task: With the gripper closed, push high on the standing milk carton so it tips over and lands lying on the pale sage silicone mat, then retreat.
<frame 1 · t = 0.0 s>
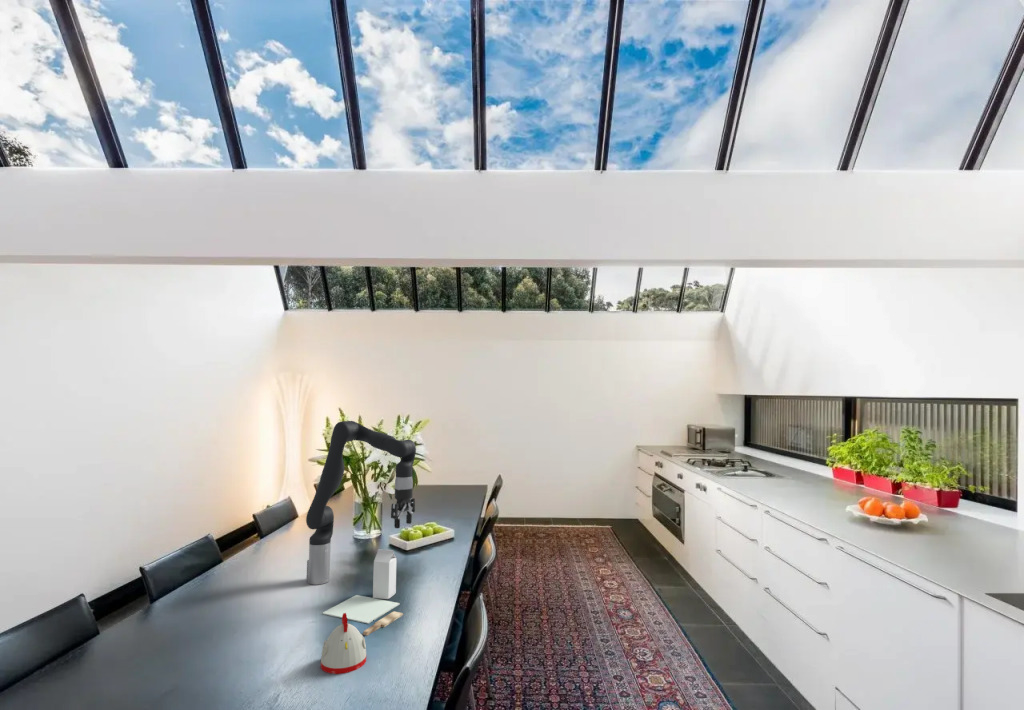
hand: (403, 525, 226), 29 cm above the table, fingers open, 8 cm apart
mat: (361, 608, 211), on the table
beech turner: (384, 623, 199), on the table
kitchen timer: (343, 663, 170), on the table
milk carton: (384, 596, 225), on the table
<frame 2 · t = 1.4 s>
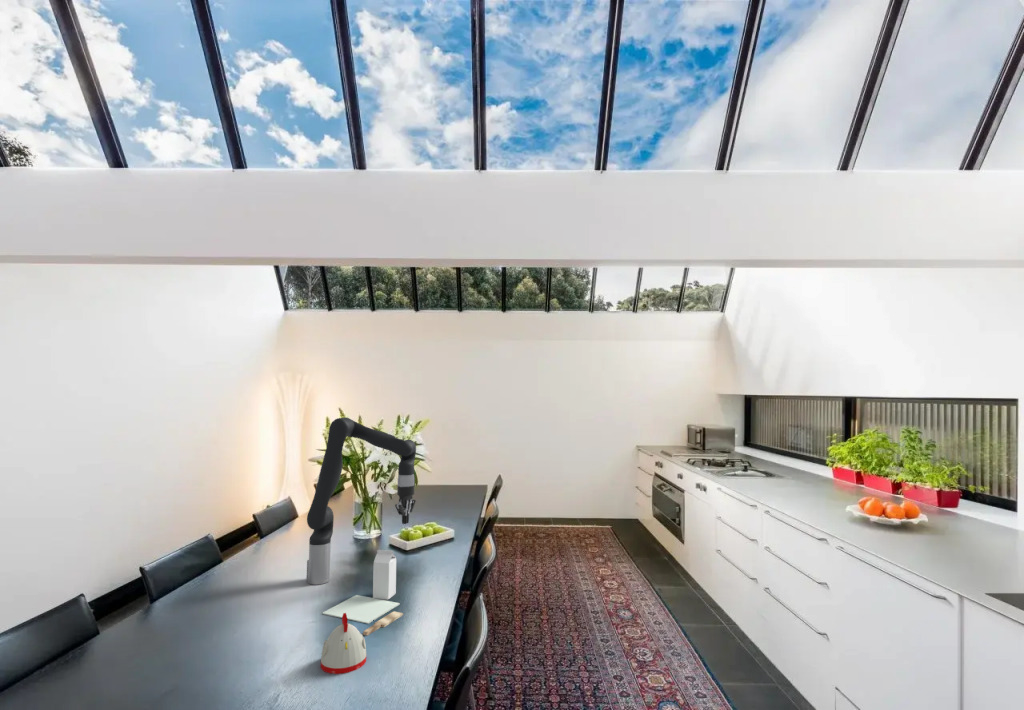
hand: (405, 523, 240), 27 cm above the table, fingers closed
nothing on the table moved.
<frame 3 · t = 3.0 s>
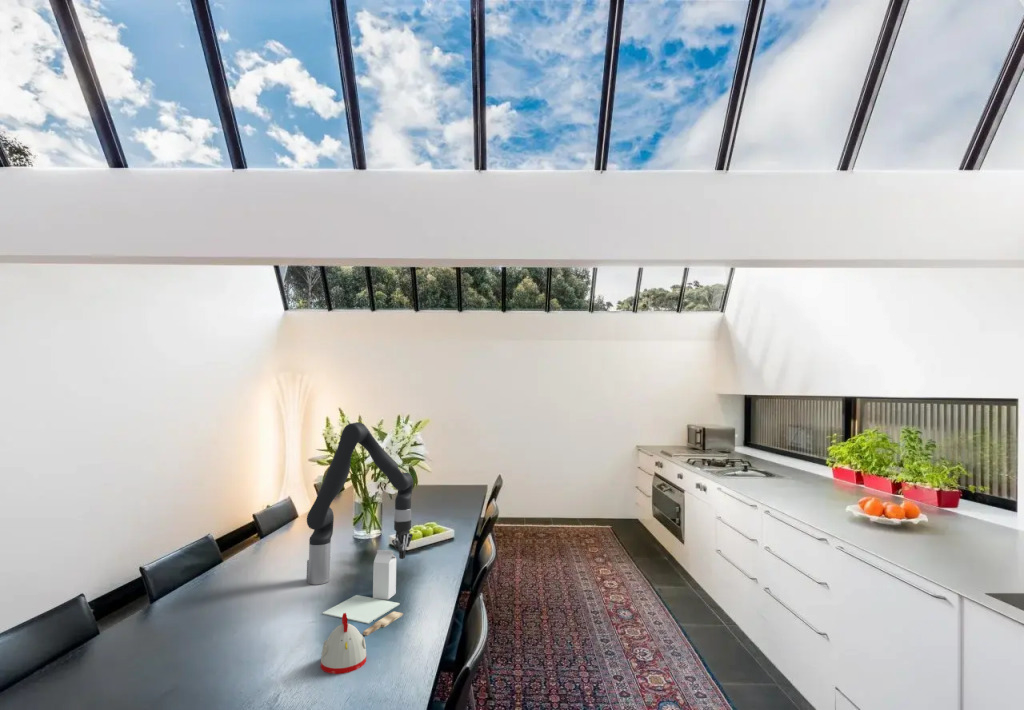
hand: (402, 558, 237), 12 cm above the table, fingers closed
nothing on the table moved.
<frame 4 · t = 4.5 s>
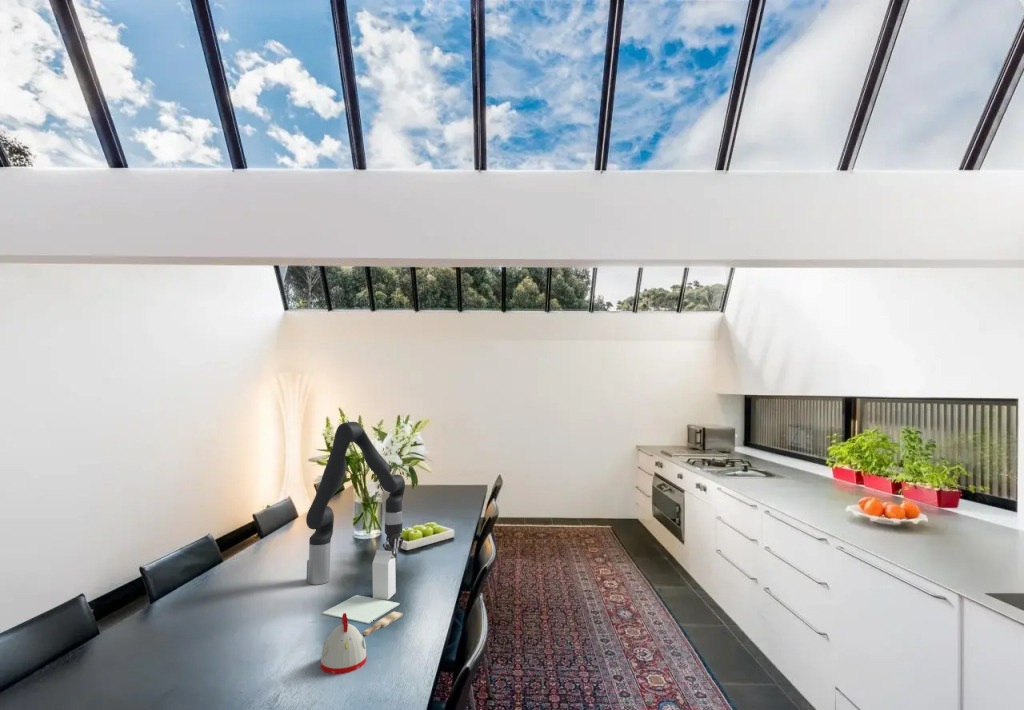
hand: (393, 562, 231), 12 cm above the table, fingers closed
milk carton: (384, 596, 225), on the table, touching hand
everything else where it was.
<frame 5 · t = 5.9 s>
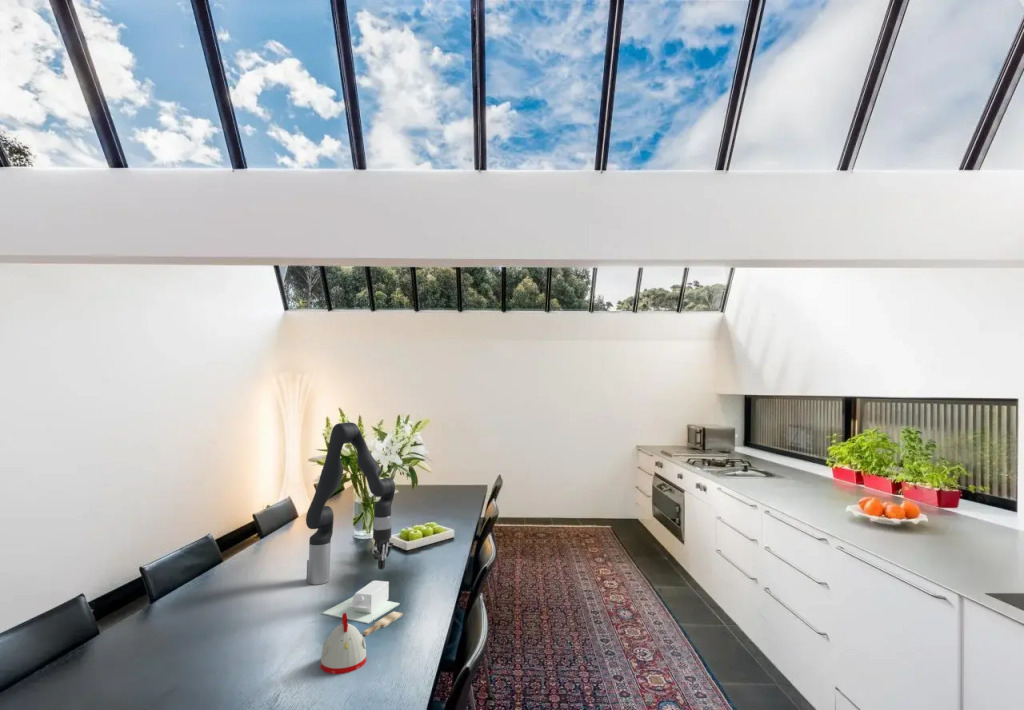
hand: (381, 568, 223), 12 cm above the table, fingers closed
milk carton: (381, 589, 222), point 4 cm above the table, touching mat
everything else where it was.
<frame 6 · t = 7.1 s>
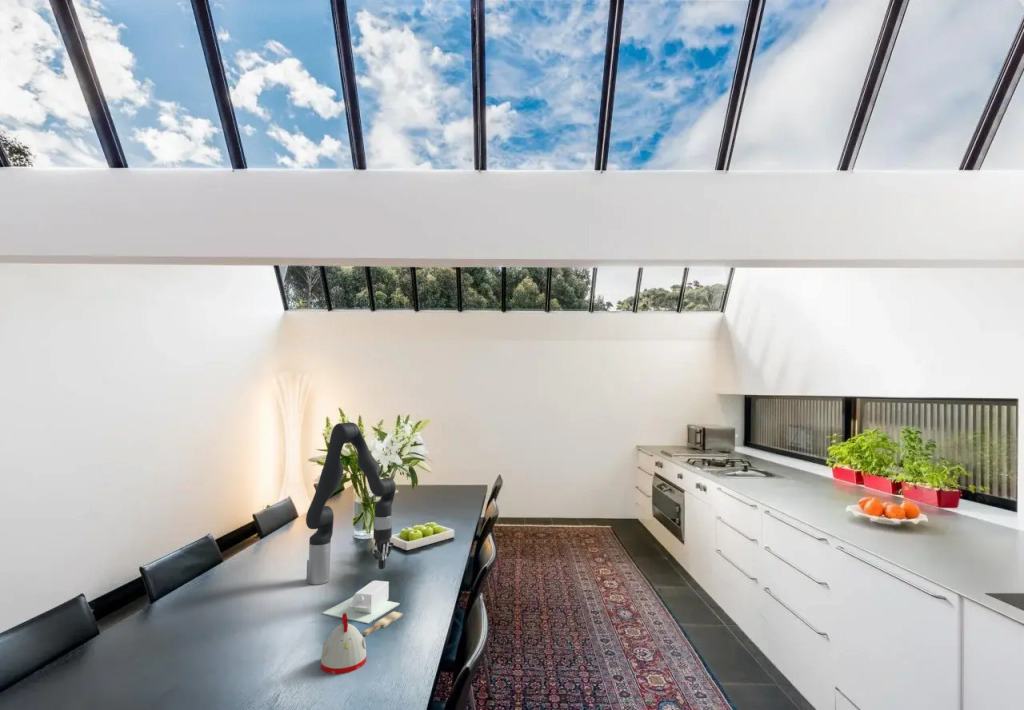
hand: (381, 568, 224), 12 cm above the table, fingers closed
nothing on the table moved.
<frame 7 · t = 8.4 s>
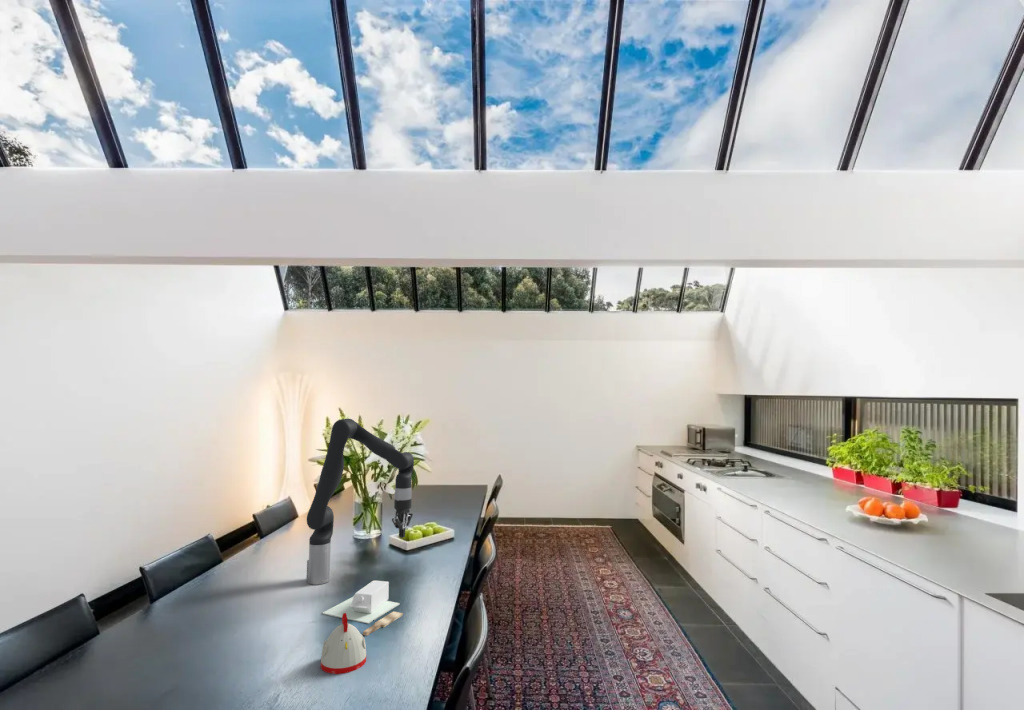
hand: (401, 537, 237), 22 cm above the table, fingers closed
nothing on the table moved.
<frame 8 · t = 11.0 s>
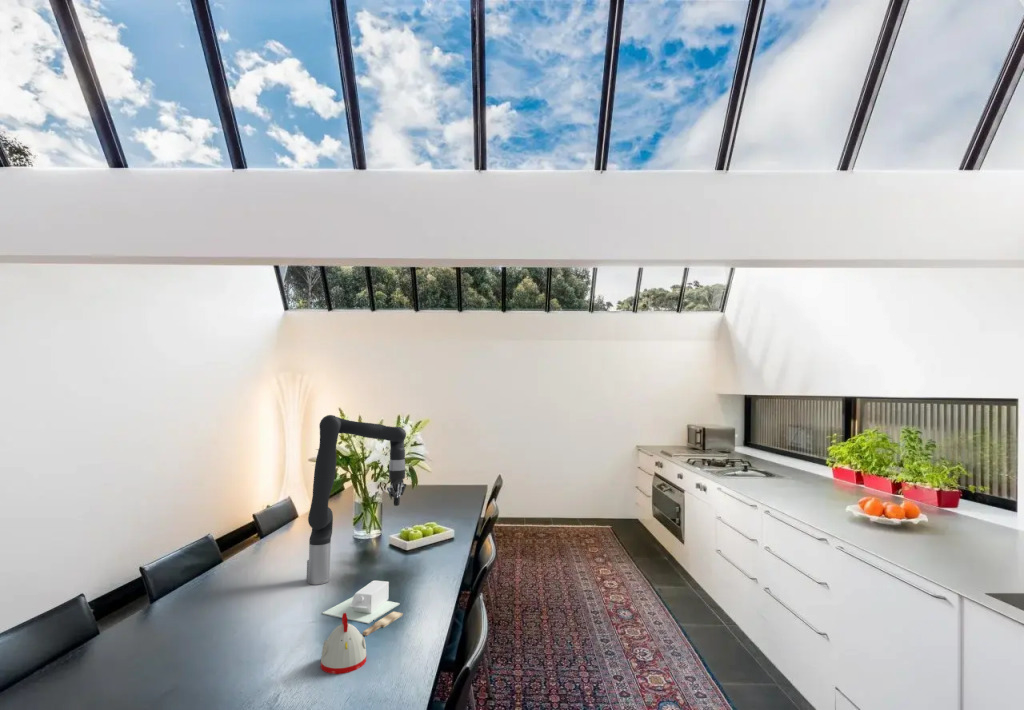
hand: (396, 505, 254), 32 cm above the table, fingers closed
nothing on the table moved.
at the end: milk carton tilted 90°; milk carton touching mat; milk carton inside the target area (13.8 cm from its centre), point 3.9 cm above the table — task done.
